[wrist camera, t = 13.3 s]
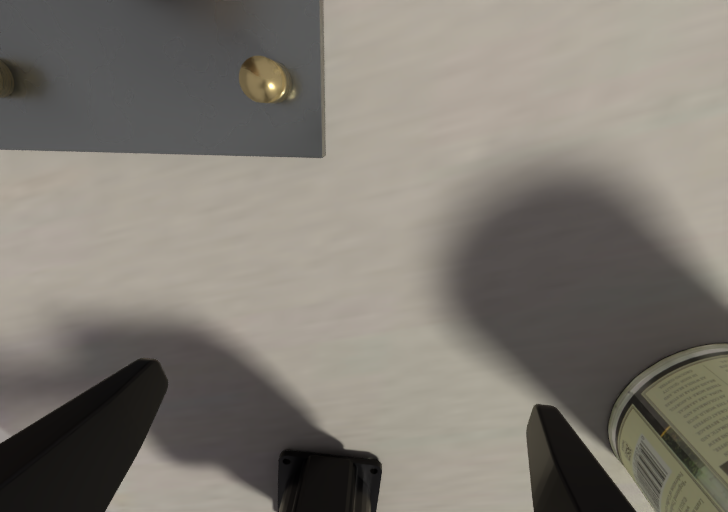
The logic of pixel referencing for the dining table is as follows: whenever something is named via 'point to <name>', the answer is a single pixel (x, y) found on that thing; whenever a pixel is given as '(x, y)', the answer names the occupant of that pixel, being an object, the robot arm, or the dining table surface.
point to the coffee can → (677, 431)
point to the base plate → (163, 76)
